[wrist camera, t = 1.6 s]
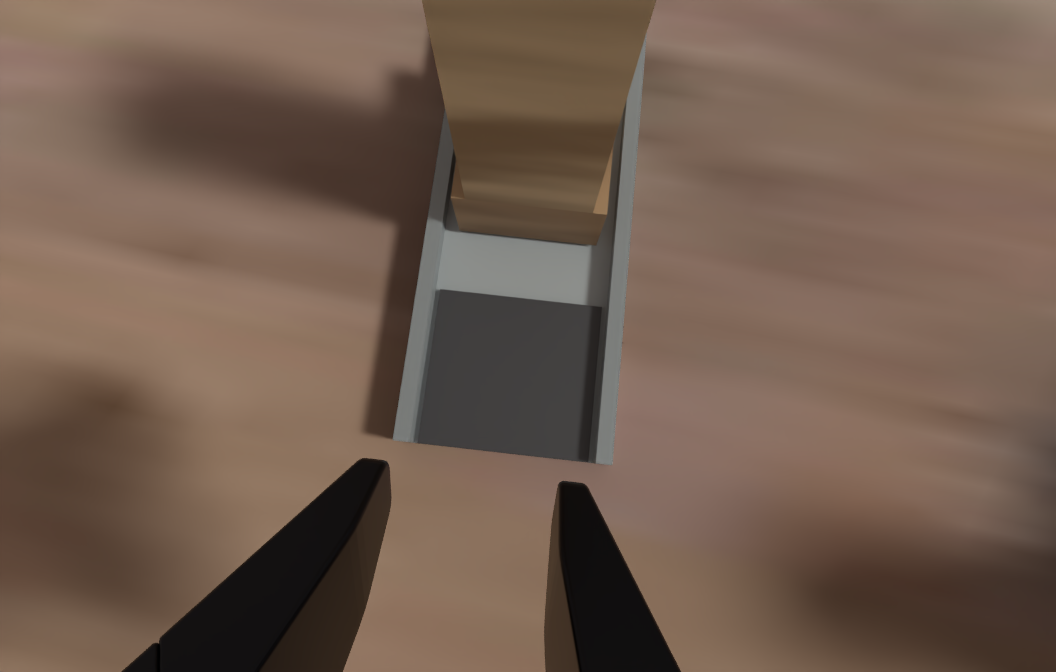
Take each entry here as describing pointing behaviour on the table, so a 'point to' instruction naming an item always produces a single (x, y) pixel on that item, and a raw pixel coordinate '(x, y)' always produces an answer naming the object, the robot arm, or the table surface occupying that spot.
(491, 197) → the stepped wooden block
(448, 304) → the track
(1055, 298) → the table surface
